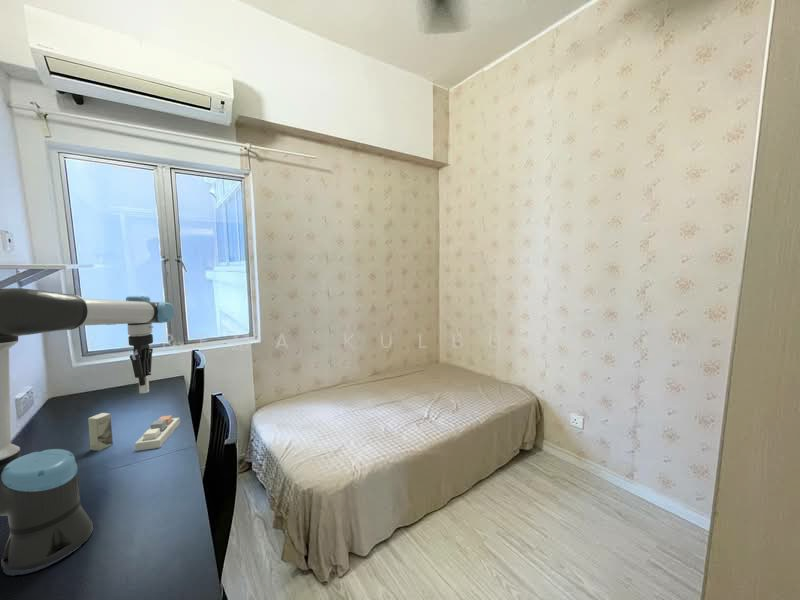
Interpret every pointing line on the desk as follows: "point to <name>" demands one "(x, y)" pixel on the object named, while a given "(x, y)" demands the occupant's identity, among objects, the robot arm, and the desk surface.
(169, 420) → the key terracotta
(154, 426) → the key slate
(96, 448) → the box
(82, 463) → the desk surface
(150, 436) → the key ivory
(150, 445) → the keypad housing
